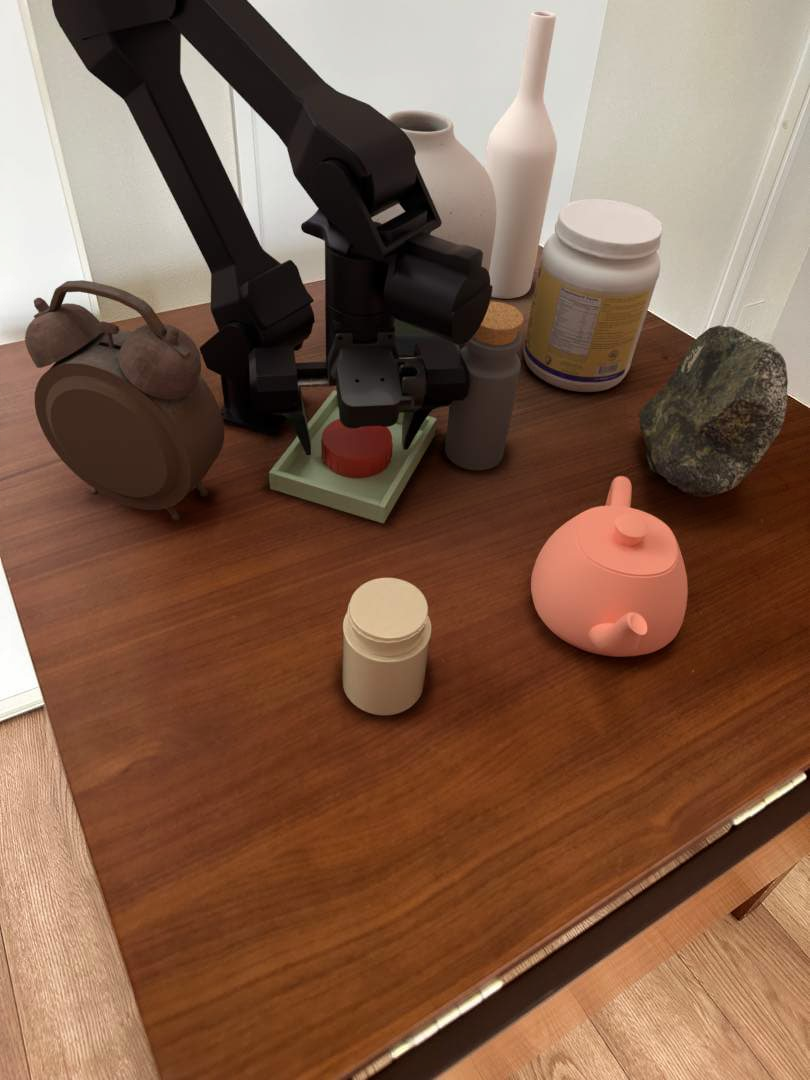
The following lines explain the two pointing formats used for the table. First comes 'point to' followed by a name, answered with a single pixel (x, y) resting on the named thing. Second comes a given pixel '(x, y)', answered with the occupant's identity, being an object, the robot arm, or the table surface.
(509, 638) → the table surface
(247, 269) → the robot arm
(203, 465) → the alarm clock
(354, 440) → the jar lid
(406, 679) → the jar
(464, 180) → the vase
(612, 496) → the teapot
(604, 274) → the supplement tub
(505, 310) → the bottle
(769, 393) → the stone
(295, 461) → the tray
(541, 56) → the bottle
